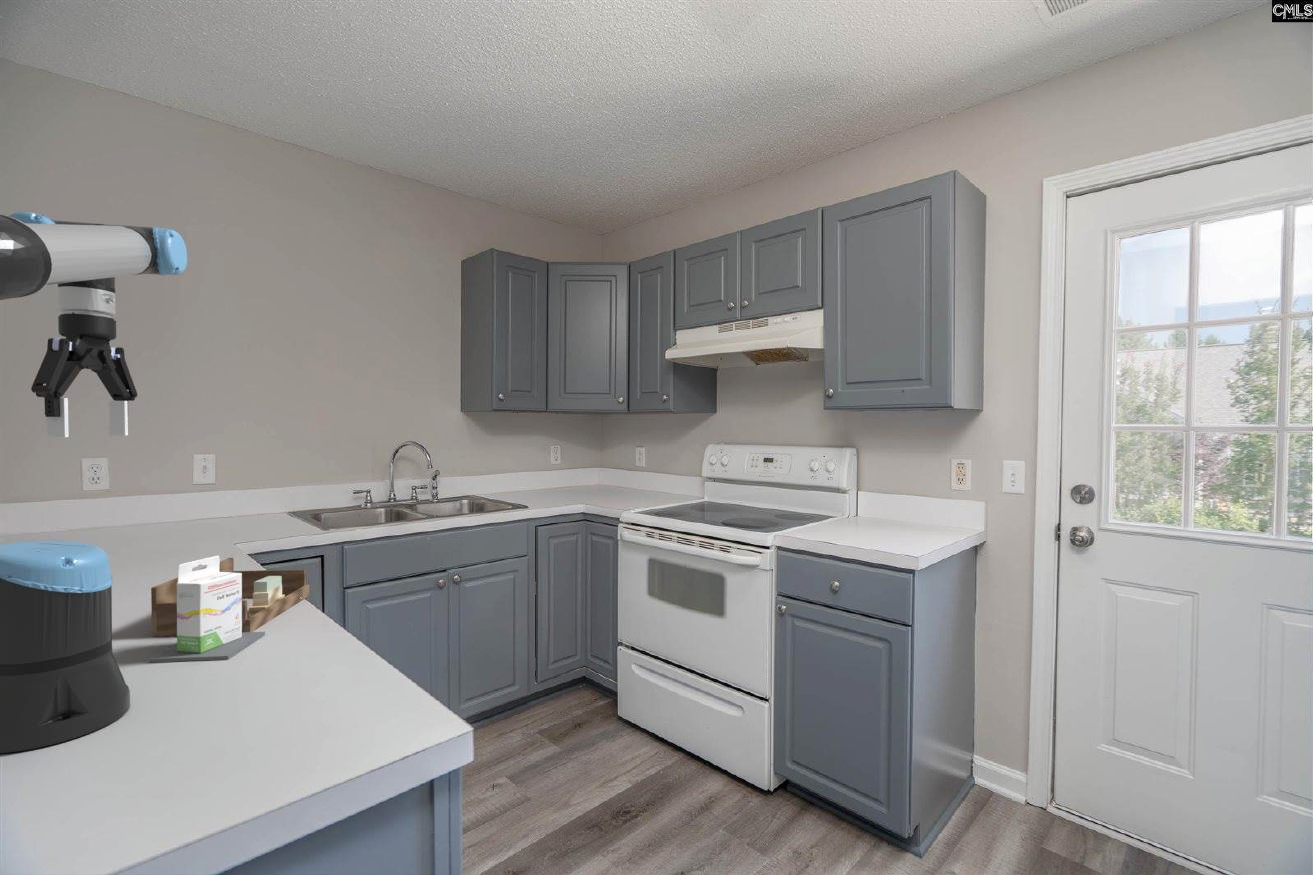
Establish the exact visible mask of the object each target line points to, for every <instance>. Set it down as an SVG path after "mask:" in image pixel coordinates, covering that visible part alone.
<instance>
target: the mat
mask: <svg viewBox="0 0 1313 875" xmlns="http://www.w3.org/2000/svg"><path fill="white" fill-rule="evenodd" d="M265 635H266V631H253V632H242V637H241V638H238V639H236V640H233V641H231V642H228V643H225V644H223V645H220V646H218V647H215V648H213V649H210V650H207V651H205V652H202V653H191V652H181V651H177V643H176V644H174V645H173V646H171V647H169V648H166V649H165V650H163V651H160V652H159V653H157V654H156V655H154V656H152V657H150V658H149V659H148V662H149V663H150V664H151V663H172V662H173V663H174V662H175V663H176V662H198V661H221V660H222V661H225V660H230V659H231V658H232V657H234V656H236V655H237V654H239V653H240V652H241V651H244V650H245V649H246V648H248V647H249V646H250V645H252V644H254V643H255V642H257V641H258V640H260V639H261V638H263V637H264V636H265Z"/></svg>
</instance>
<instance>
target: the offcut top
mask: <svg viewBox="0 0 1313 875" xmlns="http://www.w3.org/2000/svg"><path fill="white" fill-rule="evenodd" d="M279 586H282V576H268V577H265V578H263V579H260V580H258V581H255V582H254V592H268V591H270V590H272V589H275V588H277V587H279Z"/></svg>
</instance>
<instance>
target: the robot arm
mask: <svg viewBox="0 0 1313 875" xmlns="http://www.w3.org/2000/svg"><path fill="white" fill-rule="evenodd" d="M187 265H188V251H187V246H186V243H185V241H184V239H183V237H182V236H181V234H180V233H178V231H175V230H174V229H170V228H162V227H156V226H152V227H151V226H138V225H135V226H134V225H121V224H105V223H93V222H80V221H79V222H78V221H67V220H66V221H65V220H55V219H51V218H49V216H45V215H44V214H43V215H42V214H37V213H34V212H31V211H30V212H29V211H18V212H17V211H16V212H13V213H12V214H9V215H6V214H1V213H0V301H4V300H10V299H17V298H23V297H29V296H31V295H34V294H37V293H38V292H40V291H41V290H43V289H44V288H45V287H46V286H50V285H51V286H52V285H57V310H58V311H59V312H60V313H61V314H59V315H58V316H57V319H58V321H57V325H58V334H59V335H60V336H61V338H59V337H57V338H56V337H53V338H52V337H50V338H48V340H47V346H46V347H47V348H46V351H45V354H44V357H43V359H42V362H41V363H40V366H39V369H38V371H37V373H36V375H35V378H34V380H33V383H32V385H31V387H30V389H31V392H32V393H34V394H35V395H36V397H38V398H44V416H45V418H46V438H69V436H70V435H69V434H70V433H69V432H70V431H69V430H70V428H69V398H67V397H63V396H64V395H65V393H66V392H67V391H68V389H69V388H70V387H71V385H72V384H73V382H75V379H76V378H77V377H78V375H79V374H80V372H81V371H82V370H85V369H86V370H90V371H92V372H94V373H96V375H97V376H98V378H99V380H100V382H101V384H102V385H103V386H104V389H106V390H107V392H108V394H109V395H110V397H111V399H112V400H108V429H109V430H108V436H109V437H110V436H117V437H118V436H119V437H120V436H122V437H123V436H129V430H128V429H129V424H128V423H129V419H128V418H129V401H135V400H136V398H137V397H138V392H137V389H136V386H135V383H134V381H133V378H132V375H131V373H130V372H131V371H130V370H129V366H128V364H127V361H126V357H125V348H124V347H122V346H117V347H116V346H115V347H114V346H113V347H111V345H110V341H113V340H116V339H117V320H115V319H114V318H112V317H115V316H116V314H117V312H116V278H117V277H125V276H127V277H128V276H137V275H139V276H140V275H156V276H157V275H158V276H167V275H168V276H177V275H181V274H183V272H184V271H185V270H186V268H187ZM62 337H64V338H62ZM113 582H114V578H113V575H112V570H111V562H110V556H109V555H108V553H107V552H106V550H104V549H102V548H100V547H99V546H97V545H94V544H91V543H85V542H77V541H63V540H60V541H58V540H45V541H44V540H43V541H42V540H41V541H22V542H21V541H20V542H12V543H6V544H0V754H5V753H6V754H7V753H15V752H22V751H28V750H34V749H38V748H39V749H40V748H43V747H47V746H52V745H56V744H60V743H63V742H67V741H69V740H72V739H76V738H79V737H81V736H85V735H88V734H90V733H93V732H95V731H98V730H100V729H102V728H105V727H107V726H109V725H110V724H112V723H114V722H116V721H117V720H119V719H121V718H122V717H123V716H124V715H126V714H127V713H128V711H129V710H130V709H131V691H130V688H129V685H128V684H126V681H125V678H124V676H123V673H122V671H121V669H120V667H119V664H118V662H117V661H116V659H115V657H114V652H113V603H112V602H113V597H112V596H113V595H112V593H113V592H112V591H113V590H112V589H113V588H112V587H113V586H112V585H113Z"/></svg>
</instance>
